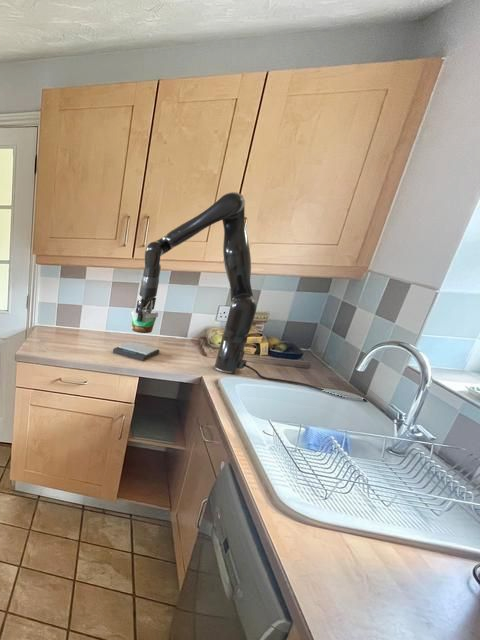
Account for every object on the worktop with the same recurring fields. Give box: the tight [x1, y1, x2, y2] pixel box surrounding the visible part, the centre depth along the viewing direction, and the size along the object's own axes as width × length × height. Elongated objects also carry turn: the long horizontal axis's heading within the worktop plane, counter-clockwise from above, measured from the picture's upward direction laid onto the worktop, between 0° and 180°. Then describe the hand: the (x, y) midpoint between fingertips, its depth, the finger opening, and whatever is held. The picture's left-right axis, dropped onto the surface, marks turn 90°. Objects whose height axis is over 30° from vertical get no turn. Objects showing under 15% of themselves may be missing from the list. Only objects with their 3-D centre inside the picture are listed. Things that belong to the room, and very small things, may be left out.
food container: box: [131, 309, 159, 334], centre depth 201 cm, size 12×6×10 cm, turn 62°
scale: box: [112, 341, 160, 362], centre depth 206 cm, size 16×16×3 cm
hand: (143, 320), depth 201 cm, fingers closed on food container, 7 cm apart
